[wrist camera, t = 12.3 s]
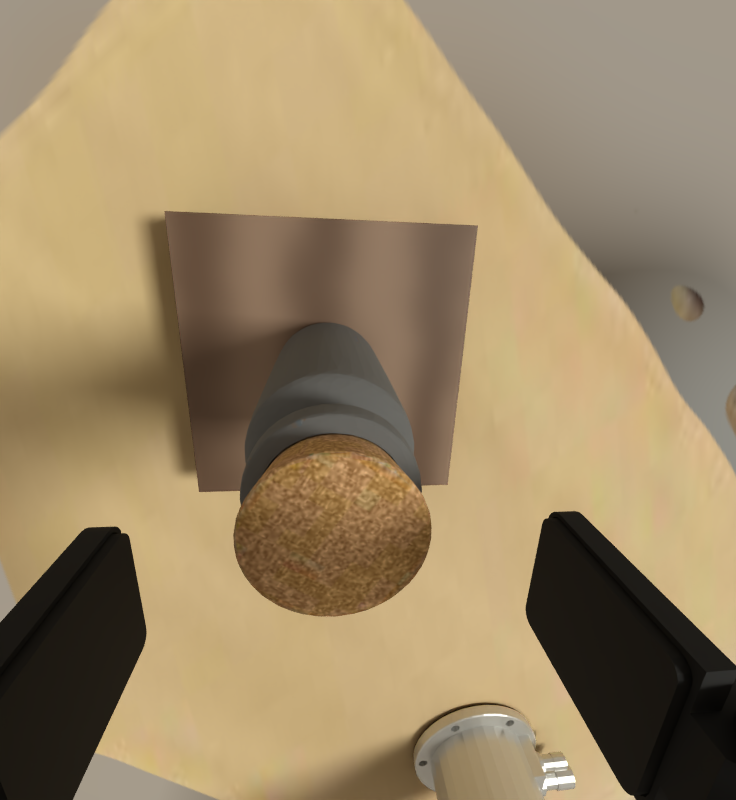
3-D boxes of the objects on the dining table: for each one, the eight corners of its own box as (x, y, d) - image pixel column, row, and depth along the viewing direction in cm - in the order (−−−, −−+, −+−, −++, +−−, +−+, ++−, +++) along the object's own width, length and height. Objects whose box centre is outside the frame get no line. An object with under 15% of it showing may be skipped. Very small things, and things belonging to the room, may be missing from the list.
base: (459, 228, 25) (477, 225, 22) (435, 462, 30) (447, 484, 27) (183, 216, 23) (164, 211, 20) (211, 468, 28) (199, 491, 25)
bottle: (396, 380, 24) (498, 554, 10) (318, 436, 25) (313, 669, 11) (337, 299, 22) (363, 375, 8) (255, 362, 23) (148, 530, 9)
